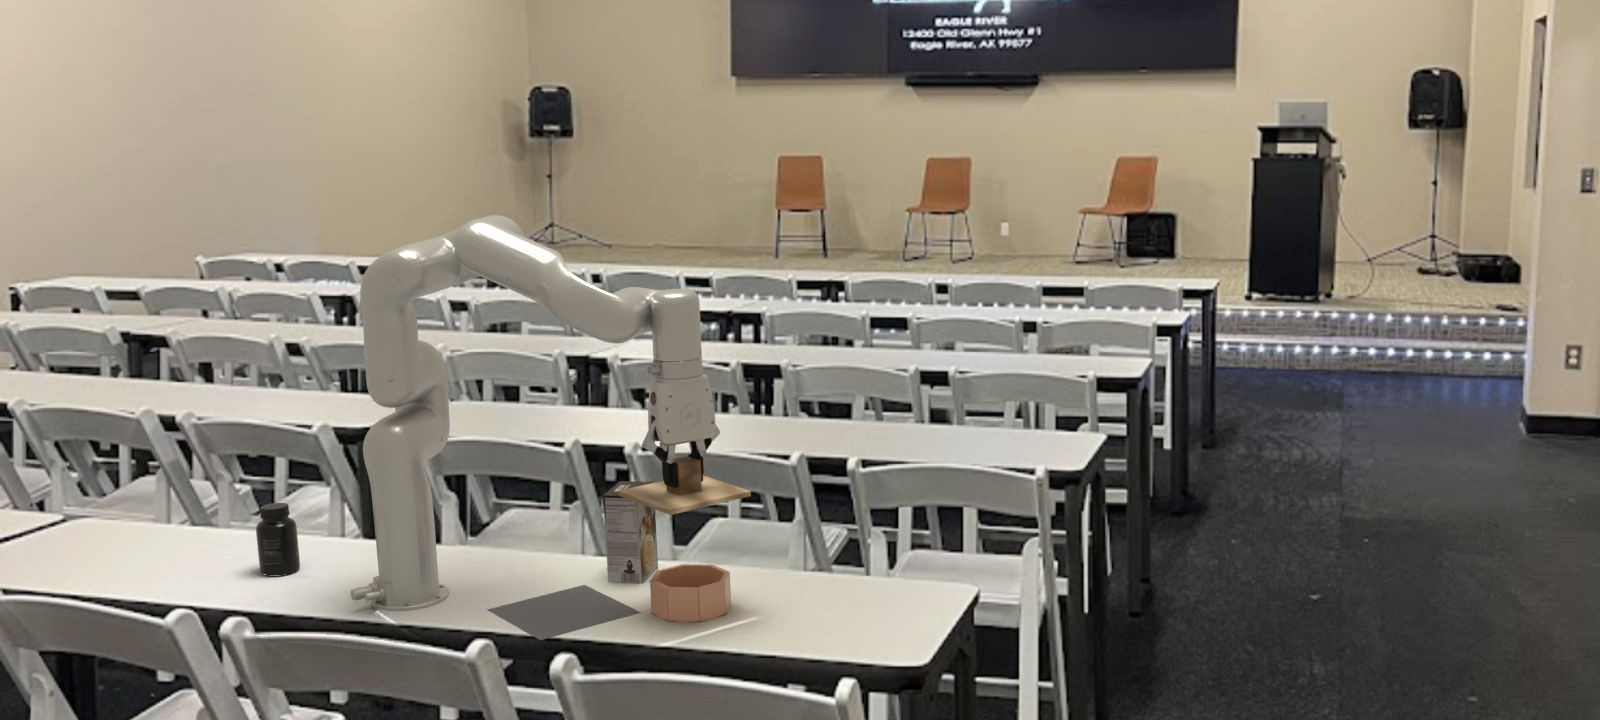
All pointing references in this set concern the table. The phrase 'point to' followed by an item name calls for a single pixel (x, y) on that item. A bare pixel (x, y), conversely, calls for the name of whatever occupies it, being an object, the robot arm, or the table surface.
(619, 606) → the mat
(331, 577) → the table surface
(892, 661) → the table surface
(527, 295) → the robot arm
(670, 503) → the lid
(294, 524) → the supplement bottle
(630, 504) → the coffee box
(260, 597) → the table surface
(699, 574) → the bowl
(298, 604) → the table surface
